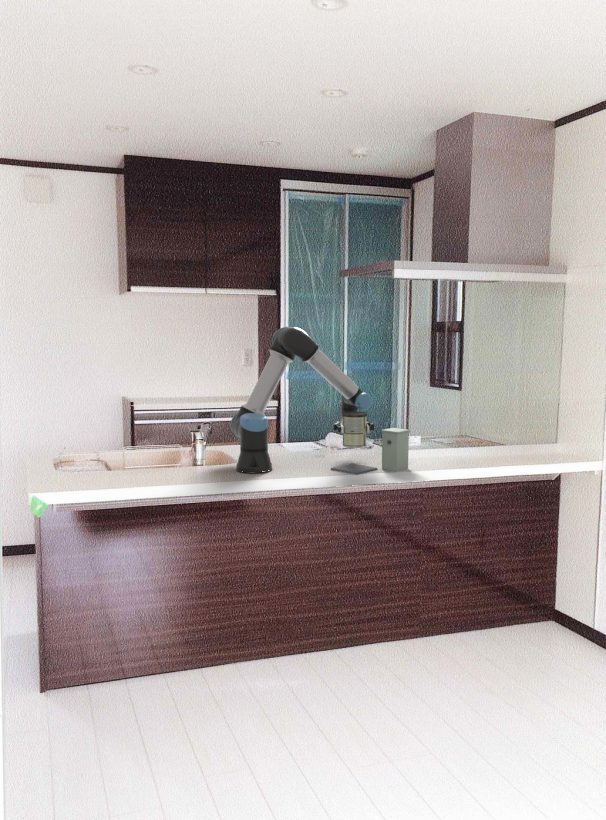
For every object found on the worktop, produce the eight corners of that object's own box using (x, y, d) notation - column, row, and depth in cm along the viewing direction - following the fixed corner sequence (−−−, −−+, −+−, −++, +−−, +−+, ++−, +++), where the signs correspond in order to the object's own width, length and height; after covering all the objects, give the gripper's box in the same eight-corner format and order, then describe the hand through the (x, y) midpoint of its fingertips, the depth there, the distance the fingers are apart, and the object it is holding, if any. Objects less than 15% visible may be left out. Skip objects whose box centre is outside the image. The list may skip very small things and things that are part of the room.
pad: (356, 474, 302) (356, 472, 302) (330, 469, 312) (330, 467, 312) (377, 469, 312) (377, 467, 312) (352, 464, 322) (352, 463, 322)
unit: (396, 471, 308) (397, 432, 306) (380, 468, 314) (380, 429, 312) (409, 468, 315) (410, 429, 313) (393, 465, 321) (394, 427, 318)
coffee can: (338, 444, 314) (338, 411, 312) (361, 443, 317) (361, 410, 315) (347, 448, 304) (347, 415, 302) (370, 447, 307) (370, 414, 305)
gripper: (376, 430, 328) (382, 438, 306) (325, 430, 328) (328, 439, 306) (376, 413, 327) (382, 421, 305) (325, 413, 327) (328, 421, 305)
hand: (355, 430), depth 305 cm, fingers closed on coffee can, 10 cm apart
